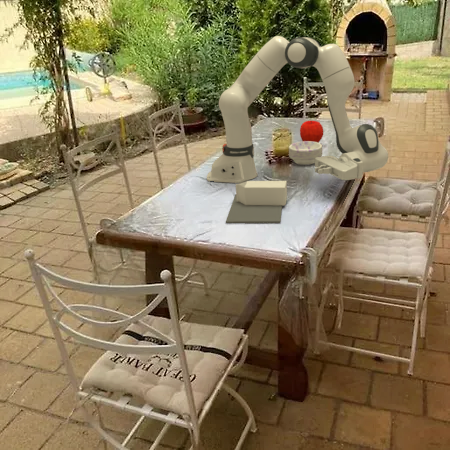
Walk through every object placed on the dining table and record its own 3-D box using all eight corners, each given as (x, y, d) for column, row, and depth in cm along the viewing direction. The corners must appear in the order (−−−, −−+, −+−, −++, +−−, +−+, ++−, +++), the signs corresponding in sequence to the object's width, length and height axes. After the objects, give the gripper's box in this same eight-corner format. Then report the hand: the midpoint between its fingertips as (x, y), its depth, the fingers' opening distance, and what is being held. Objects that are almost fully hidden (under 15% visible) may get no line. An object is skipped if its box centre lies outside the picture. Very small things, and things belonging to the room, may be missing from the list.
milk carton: (285, 187, 173) (233, 187, 177) (285, 205, 176) (235, 205, 180) (287, 180, 179) (237, 180, 184) (287, 198, 182) (238, 198, 187)
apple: (328, 146, 244) (328, 120, 238) (311, 151, 238) (311, 124, 233) (311, 142, 253) (311, 116, 247) (295, 147, 247) (294, 121, 242)
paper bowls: (300, 169, 215) (300, 152, 212) (283, 161, 228) (282, 144, 224) (328, 162, 220) (329, 146, 217) (310, 155, 233) (310, 139, 229)
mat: (225, 223, 168) (225, 221, 167) (235, 196, 191) (235, 194, 191) (280, 223, 165) (280, 221, 164) (283, 195, 188) (283, 193, 187)
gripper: (333, 149, 189) (302, 156, 185) (365, 162, 171) (332, 170, 167) (333, 165, 192) (302, 171, 187) (364, 179, 174) (331, 187, 170)
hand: (316, 171), depth 177 cm, fingers closed
